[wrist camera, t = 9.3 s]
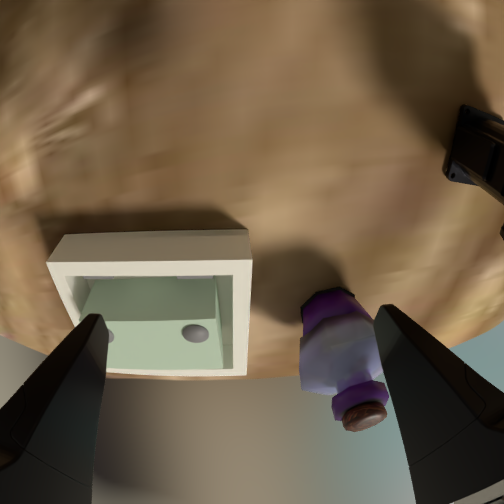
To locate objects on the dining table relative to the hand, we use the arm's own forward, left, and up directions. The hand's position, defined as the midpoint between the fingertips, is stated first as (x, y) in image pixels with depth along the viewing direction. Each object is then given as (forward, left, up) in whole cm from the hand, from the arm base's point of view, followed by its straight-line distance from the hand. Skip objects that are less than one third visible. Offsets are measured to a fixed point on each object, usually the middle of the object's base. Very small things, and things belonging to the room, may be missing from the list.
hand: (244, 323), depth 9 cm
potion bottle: (-9, +13, -13) cm, 20 cm away
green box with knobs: (+6, +11, -12) cm, 17 cm away
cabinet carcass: (+6, +11, -12) cm, 18 cm away
